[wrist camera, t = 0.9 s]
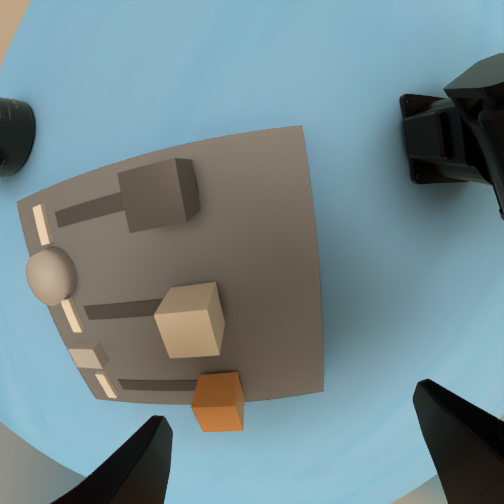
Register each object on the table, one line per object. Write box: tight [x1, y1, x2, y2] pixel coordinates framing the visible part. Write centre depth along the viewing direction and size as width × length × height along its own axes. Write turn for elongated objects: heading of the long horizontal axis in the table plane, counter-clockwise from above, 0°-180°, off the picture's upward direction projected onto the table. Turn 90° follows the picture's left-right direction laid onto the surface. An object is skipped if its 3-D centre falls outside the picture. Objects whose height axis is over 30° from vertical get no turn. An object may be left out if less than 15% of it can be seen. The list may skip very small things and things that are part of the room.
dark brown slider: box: [117, 158, 201, 233], centre depth 14 cm, size 3×3×4 cm
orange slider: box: [191, 372, 244, 432], centre depth 18 cm, size 3×3×4 cm
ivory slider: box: [154, 282, 225, 358], centre depth 16 cm, size 3×3×4 cm
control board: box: [17, 126, 324, 404], centre depth 18 cm, size 22×20×4 cm
